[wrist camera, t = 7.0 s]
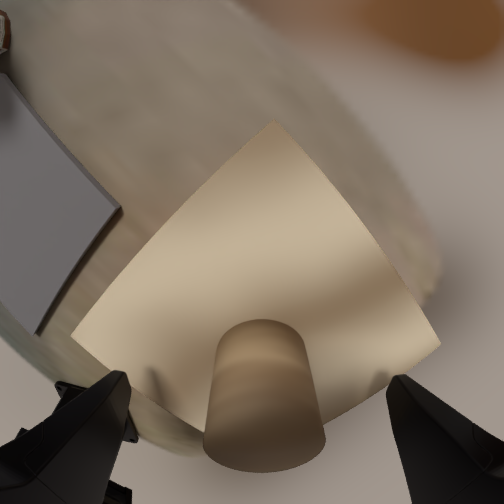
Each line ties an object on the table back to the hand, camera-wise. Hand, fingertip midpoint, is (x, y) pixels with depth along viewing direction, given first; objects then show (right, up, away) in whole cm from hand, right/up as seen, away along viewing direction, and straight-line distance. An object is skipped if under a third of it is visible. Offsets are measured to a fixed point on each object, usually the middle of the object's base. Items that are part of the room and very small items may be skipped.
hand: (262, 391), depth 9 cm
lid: (0, +1, +3) cm, 3 cm away
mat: (-16, +7, +5) cm, 18 cm away
